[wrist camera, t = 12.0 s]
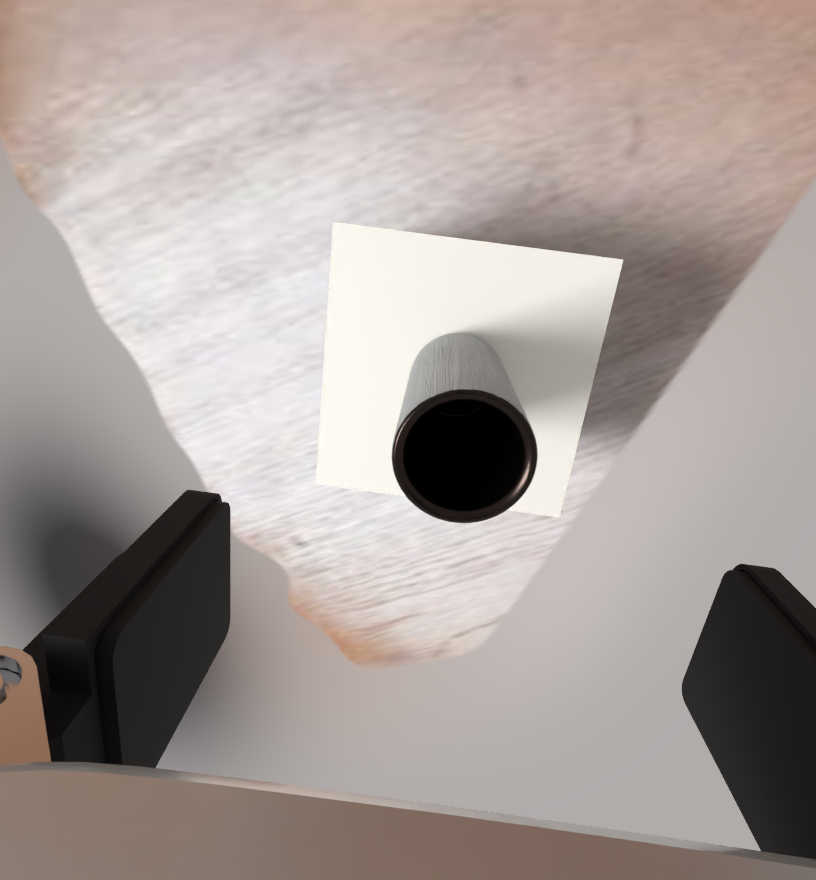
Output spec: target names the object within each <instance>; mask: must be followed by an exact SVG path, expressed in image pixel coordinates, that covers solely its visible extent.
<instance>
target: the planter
mask: <svg viewBox="0 0 816 880" xmlns="http://www.w3.org/2000/svg"><path fill="white" fill-rule="evenodd" d="M537 458H538V450H537V443H536V439H535V435H534V432H533V430H532V427H531V425H530V423H529V421H528V418H527V416H526V414H525V412H524V410H523V408H522V405H521V403H520V401H519V399H518V397H517V395H516V393H515V390H514V388H513V386H512V384H511V382H510V380H509V377H508V375H507V373H506V371H505V369H504V367H503V365H502V362H501V360H500V358H499V357H498V355H497V354H496V352H495V351H494V350H493V349H492V348H491V347H490V346H489V345H488V344H487V343H486V342H484V341H483V340H481V339H480V338H478V337H475V336H473V335H469V334H464V333H451V334H446V335H443V336H440V337H437V338H435V339H434V340H432V341H430V342H429V343H428V344H427V345H425V346H424V347H423V348H422V349H421V351H420V352H419V353H418V355H417V357H416V358H415V360H414V362H413V365H412V367H411V371H410V375H409V379H408V383H407V387H406V391H405V395H404V399H403V403H402V407H401V411H400V415H399V419H398V423H397V427H396V431H395V436H394V440H393V445H392V467H393V472H394V475H395V478H396V481H397V483H398V485H399V487H400V488H401V490H402V491H403V493H404V494H405V496H406V497H407V498H408V499H409V500H410V501H411V502H412V503H413V504H414V505H415V506H416V507H418V508H419V509H420V510H422V511H423V512H425V513H427V514H429V515H431V516H433V517H435V518H438V519H441V520H445V521H449V522H456V523H472V522H479V521H483V520H487V519H490V518H493V517H495V516H497V515H499V514H501V513H503V512H504V511H506V510H508V509H509V508H510V507H512V506H513V505H514V504H515V503H516V502H517V501H518V500H519V499H520V498H521V497H522V496H523V495H524V493H525V492H526V490H527V489H528V487H529V486H530V484H531V482H532V479H533V477H534V474H535V471H536V467H537Z"/></svg>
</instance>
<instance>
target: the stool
mask: <svg viewBox="0 0 816 880" xmlns="http://www.w3.org/2000/svg"><path fill="white" fill-rule="evenodd" d="M622 264H623V259H615V258H607V257H599V256H592V255H584V254H576V253H569V252H561V251H553V250H545V249H538V248H530V247H522V246H514V245H507V244H499V243H491V242H484V241H476V240H468V239H460V238H453V237H445V236H437V235H429V234H422V233H414V232H406V231H399V230H391V229H383V228H375V227H368V226H360V225H352V224H344V223H337V222H333V231H332V246H331V261H330V276H329V291H328V306H327V321H326V336H325V351H324V366H323V381H322V395H321V410H320V425H319V440H318V455H317V470H316V484H319V485H326V486H333V487H341V488H348V489H355V490H363V491H370V492H377V493H385V494H392V495H399V496H405V494H404V493H403V491H402V490H401V488H400V487H399V485H398V483H397V481H396V478H395V475H394V472H393V467H392V445H393V440H394V436H395V431H396V427H397V423H398V419H399V415H400V411H401V407H402V403H403V399H404V395H405V391H406V387H407V383H408V379H409V375H410V371H411V367H412V365H413V362H414V360H415V358H416V357H417V355H418V353H419V352H420V351H421V349H422V348H423V347H424V346H425V345H427V344H428V343H429V342H430V341H432V340H434V339H435V338H437V337H440V336H443V335H446V334H451V333H464V334H469V335H473V336H475V337H478V338H480V339H481V340H483V341H484V342H486V343H487V344H488V345H489V346H490V347H491V348H492V349H493V350H494V351H495V352H496V354H497V355H498V357H499V358H500V360H501V362H502V365H503V367H504V369H505V371H506V373H507V375H508V377H509V380H510V382H511V384H512V386H513V388H514V390H515V393H516V395H517V397H518V399H519V401H520V403H521V405H522V408H523V410H524V412H525V414H526V416H527V418H528V421H529V423H530V425H531V427H532V430H533V432H534V435H535V439H536V443H537V450H538V458H537V467H536V471H535V474H534V477H533V479H532V482H531V484H530V486H529V487H528V489H527V490H526V492H525V493H524V495H523V496H522V497H521V498H520V499H519V500H518V501H517V502H516V503H515V504H514V505H513V506H512V507H510V508H509V509H508V510H509V511H516V512H524V513H531V514H538V515H546V516H553V517H560V513H561V509H562V505H563V501H564V497H565V493H566V489H567V485H568V481H569V477H570V473H571V469H572V465H573V461H574V457H575V453H576V449H577V445H578V441H579V437H580V433H581V429H582V425H583V421H584V417H585V413H586V409H587V405H588V401H589V397H590V393H591V389H592V385H593V381H594V376H595V372H596V368H597V364H598V360H599V356H600V352H601V348H602V344H603V340H604V336H605V332H606V328H607V324H608V320H609V316H610V312H611V308H612V304H613V300H614V296H615V292H616V288H617V284H618V280H619V276H620V272H621V268H622Z"/></svg>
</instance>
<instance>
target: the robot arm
mask: <svg viewBox="0 0 816 880" xmlns="http://www.w3.org/2000/svg"><path fill="white" fill-rule="evenodd" d="M229 624H230V506H229V504H228V503H226V502H222V500H221V497H220V495H219V494H216V493H209V492H201V491H194V490H187V491H186V492H184V493H183V494H182V495H181V496H180V497H179V498H178V499H177V500H176V501H175V502H174V503H173V504H172V505H171V506H170V507H169V508H168V509H167V510H166V511H165V512H164V513H163V514H162V515H161V516H160V517H159V518H158V519H157V520H156V521H155V522H154V523H153V524H152V525H151V526H150V527H149V528H148V529H147V530H146V531H145V532H144V533H143V534H142V535H141V536H140V537H139V538H138V539H137V540H136V541H135V542H134V543H133V544H132V545H131V546H130V547H129V548H128V549H127V550H126V551H125V552H124V553H122V554H121V555H119V556H118V557H117V558H115V559H114V560H113V561H112V562H111V564H109V565H108V566H107V568H105V569H104V570H103V571H102V572H101V573H100V574H99V575H98V576H97V577H96V578H95V579H94V580H93V581H92V582H91V583H90V584H89V585H88V586H87V587H86V588H85V589H84V590H83V591H82V592H81V593H80V594H79V595H78V596H77V597H76V598H75V599H74V600H73V601H72V602H71V603H70V604H69V605H68V606H67V607H66V608H65V609H64V610H63V611H62V612H61V613H60V614H59V615H58V616H57V617H56V618H55V619H54V620H53V621H52V622H51V623H50V624H49V625H48V626H46V628H44V629H43V630H42V631H41V632H40V633H39V634H38V635H37V636H36V637H35V638H34V639H33V640H32V641H31V642H30V643H29V644H28V645H27V646H26V647H25V648H24V649H23V650H20V649H15V648H10V647H6V646H5V647H0V880H816V608H815V607H814V606H813V605H812V604H811V603H810V602H809V601H808V600H807V599H806V598H805V597H804V596H803V595H802V594H801V593H800V592H799V591H798V590H797V589H796V588H795V587H794V586H793V585H792V584H791V583H790V582H789V581H788V580H787V579H786V578H785V577H784V576H783V575H782V574H781V573H780V572H779V571H777V570H776V569H774V568H768V567H760V566H753V565H746V564H740V565H737V566H736V567H735V568H734V569H733V570H730V571H727V572H726V573H725V574H724V576H723V578H722V580H721V583H720V586H719V588H718V591H717V593H716V596H715V598H714V601H713V604H712V606H711V609H710V611H709V614H708V617H707V619H706V622H705V624H704V627H703V630H702V632H701V635H700V637H699V640H698V643H697V645H696V648H695V650H694V653H693V656H692V658H691V661H690V664H689V666H688V669H687V671H686V674H685V676H684V679H683V683H682V695H683V699H684V702H685V704H686V706H687V708H688V710H689V712H690V714H691V716H692V718H693V720H694V721H695V723H696V725H697V727H698V729H699V731H700V733H701V735H702V737H703V739H704V741H705V743H706V745H707V747H708V749H709V751H710V753H711V754H712V756H713V758H714V760H715V762H716V764H717V766H718V768H719V770H720V772H721V774H722V776H723V778H724V780H725V782H726V784H727V786H728V787H729V789H730V791H731V793H732V795H733V797H734V799H735V801H736V803H737V805H738V807H739V809H740V811H741V813H742V815H743V816H744V818H745V820H746V822H747V824H748V826H749V828H750V830H751V832H752V834H753V836H754V838H755V840H756V841H757V844H758V845H759V848H760V849H761V851H755V850H748V849H742V848H735V847H727V846H722V845H714V844H708V843H701V842H694V841H688V840H681V839H674V838H668V837H661V836H654V835H647V834H640V833H633V832H626V831H619V830H612V829H605V828H598V827H591V826H584V825H577V824H570V823H563V822H556V821H549V820H542V819H535V818H528V817H521V816H513V815H507V814H500V813H493V812H485V811H478V810H471V809H464V808H457V807H449V806H443V805H436V804H428V803H421V802H414V801H406V800H399V799H392V798H384V797H377V796H369V795H362V794H355V793H347V792H340V791H333V790H325V789H318V788H310V787H303V786H295V785H288V784H281V783H273V782H266V781H259V780H250V779H242V778H234V777H226V776H217V775H209V774H200V773H192V772H184V771H175V770H166V769H157V768H156V766H157V764H158V762H159V760H160V758H161V756H162V755H163V753H164V751H165V749H166V747H167V745H168V743H169V742H170V739H171V738H172V736H173V734H174V732H175V731H176V729H177V727H178V725H179V723H180V721H181V719H182V718H183V716H184V714H185V712H186V710H187V708H188V706H189V705H190V703H191V701H192V699H193V697H194V695H195V693H196V691H197V690H198V688H199V686H200V684H201V682H202V681H203V679H204V677H205V675H206V673H207V671H208V669H209V668H210V666H211V664H212V662H213V660H214V658H215V657H216V655H217V653H218V651H219V649H220V647H221V645H222V643H223V642H224V640H225V638H226V635H227V632H228V629H229Z"/></svg>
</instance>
